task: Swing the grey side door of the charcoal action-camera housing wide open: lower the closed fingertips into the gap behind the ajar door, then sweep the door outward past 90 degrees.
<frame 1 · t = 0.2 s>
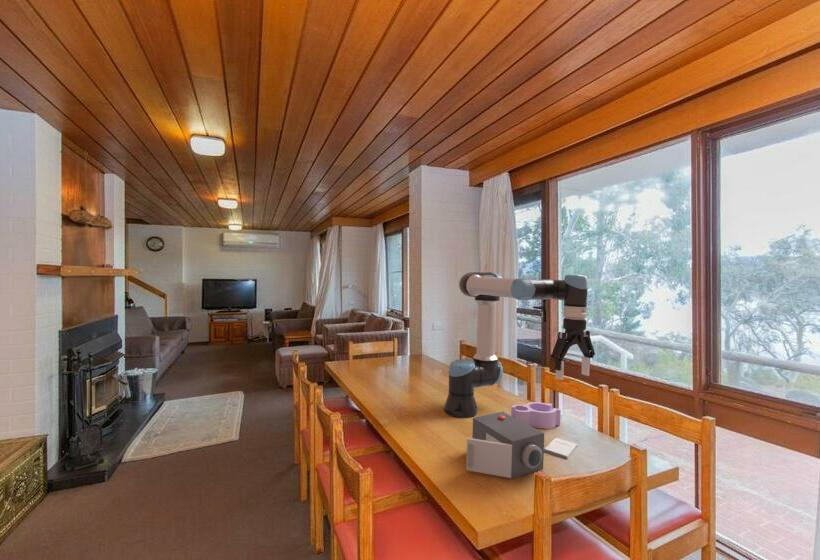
hand: (572, 377, 130), 28 cm above the table, fingers open, 13 cm apart
clip: (534, 423, 157), on the table
side door: (488, 458, 115), point 6 cm above the table, hinge at 45.0°
external hard drive: (560, 450, 135), on the table
camera housing: (506, 459, 126), on the table
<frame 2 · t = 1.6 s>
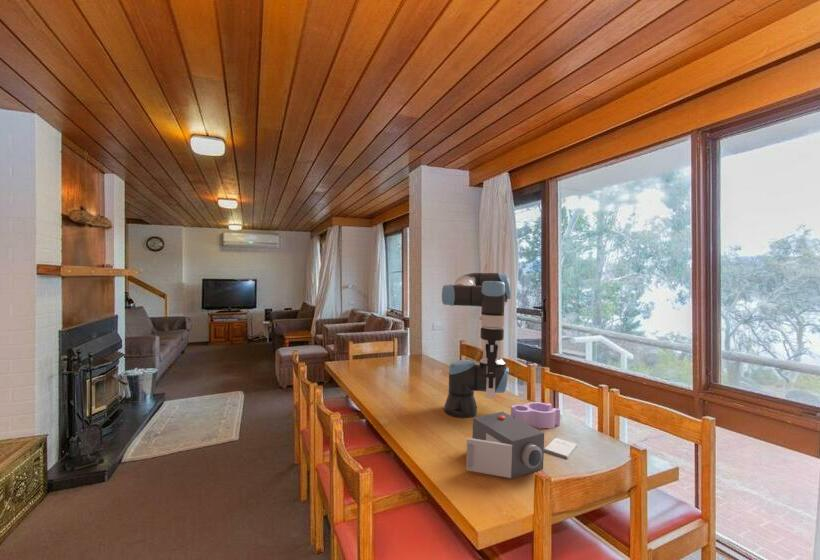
hand: (490, 390, 121), 25 cm above the table, fingers open, 13 cm apart
nothing on the table moved.
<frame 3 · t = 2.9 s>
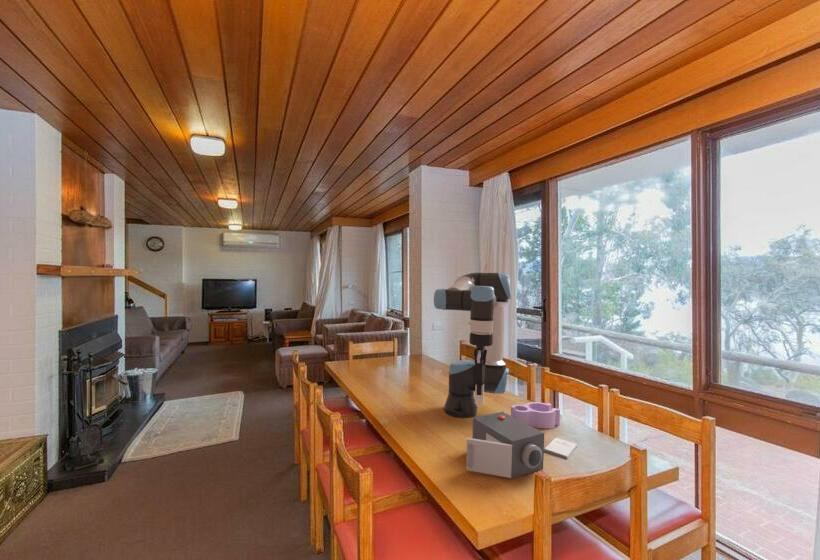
hand: (479, 403, 120), 21 cm above the table, fingers closed
nothing on the table moved.
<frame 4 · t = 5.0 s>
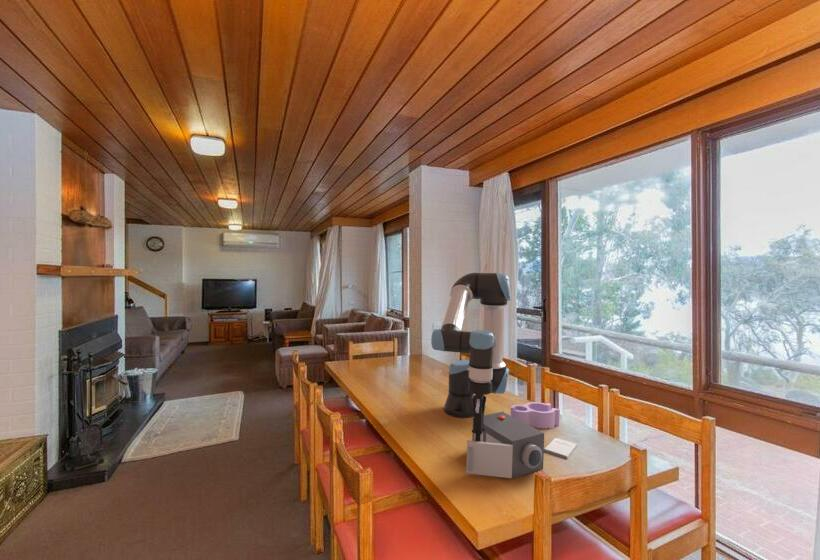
hand: (477, 451, 117), 7 cm above the table, fingers closed
side door: (489, 459, 114), point 6 cm above the table, hinge at 53.2°, touching gripper
everything else where it was.
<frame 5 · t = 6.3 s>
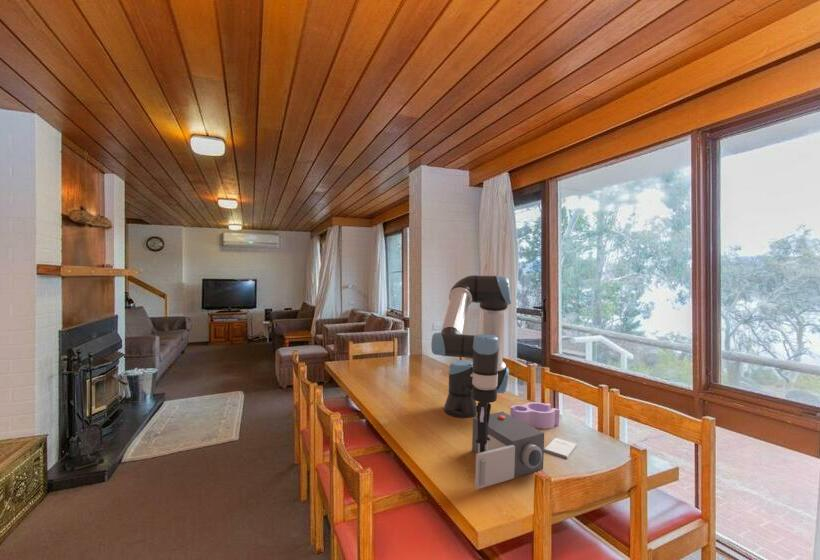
hand: (482, 462, 111), 6 cm above the table, fingers closed
side door: (496, 467, 110), point 6 cm above the table, hinge at 88.2°, touching gripper
everything else where it was.
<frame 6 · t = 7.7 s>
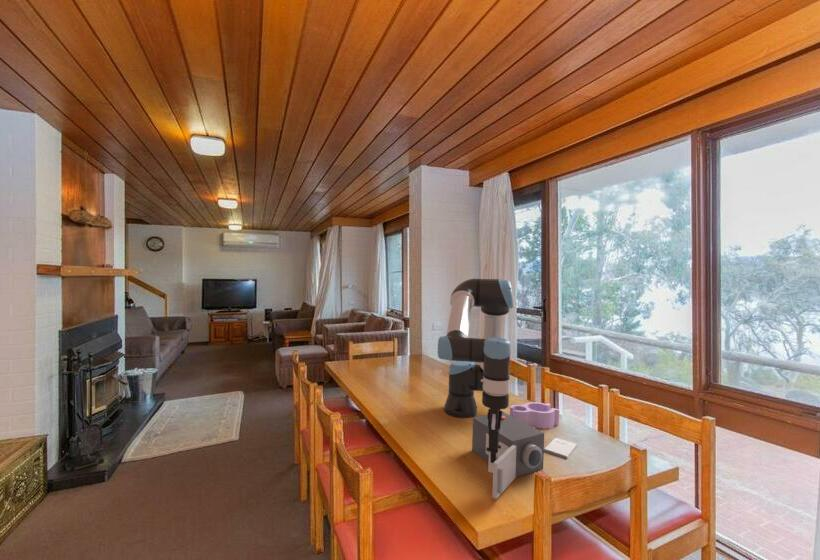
hand: (493, 471, 106), 6 cm above the table, fingers closed
side door: (506, 471, 107), point 6 cm above the table, hinge at 114.3°, touching gripper
everything else where it was.
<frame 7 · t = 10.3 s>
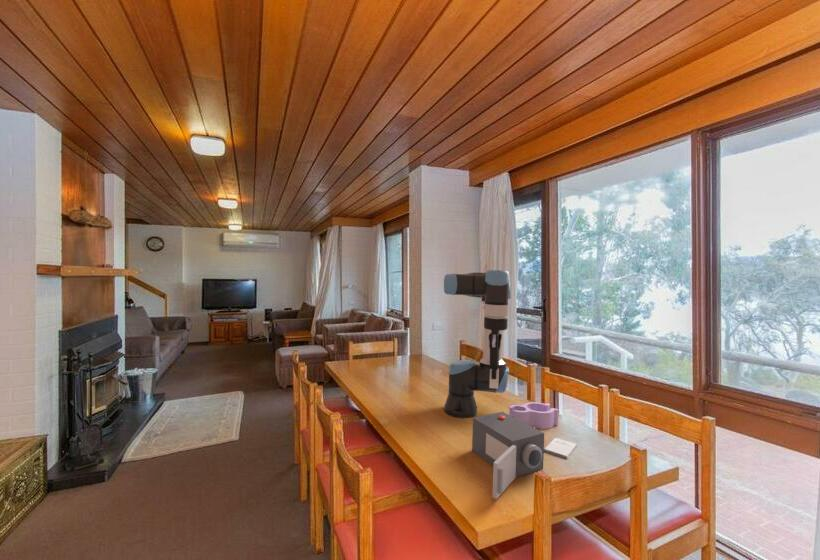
hand: (493, 387, 120), 27 cm above the table, fingers closed
side door: (506, 471, 107), point 6 cm above the table, hinge at 114.4°
everything else where it was.
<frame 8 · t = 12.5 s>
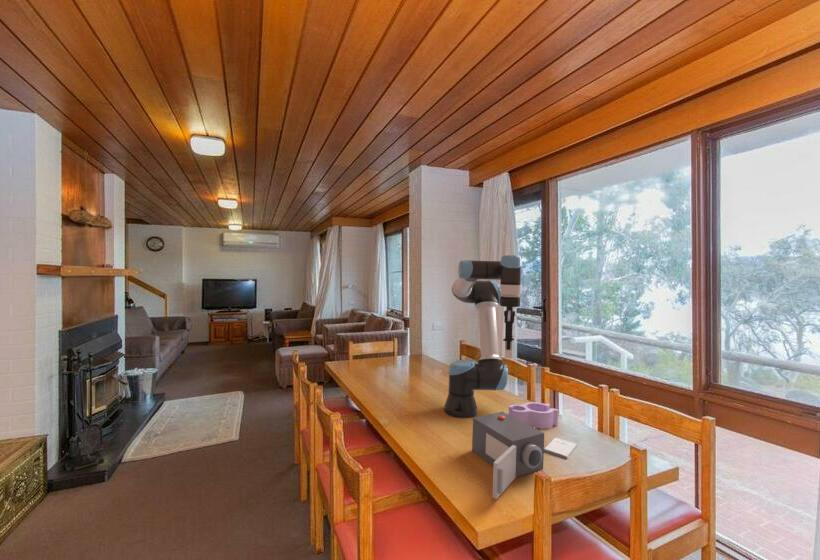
hand: (508, 357, 138), 32 cm above the table, fingers closed
at the end: side door at +114° (first picture: +45°) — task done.
